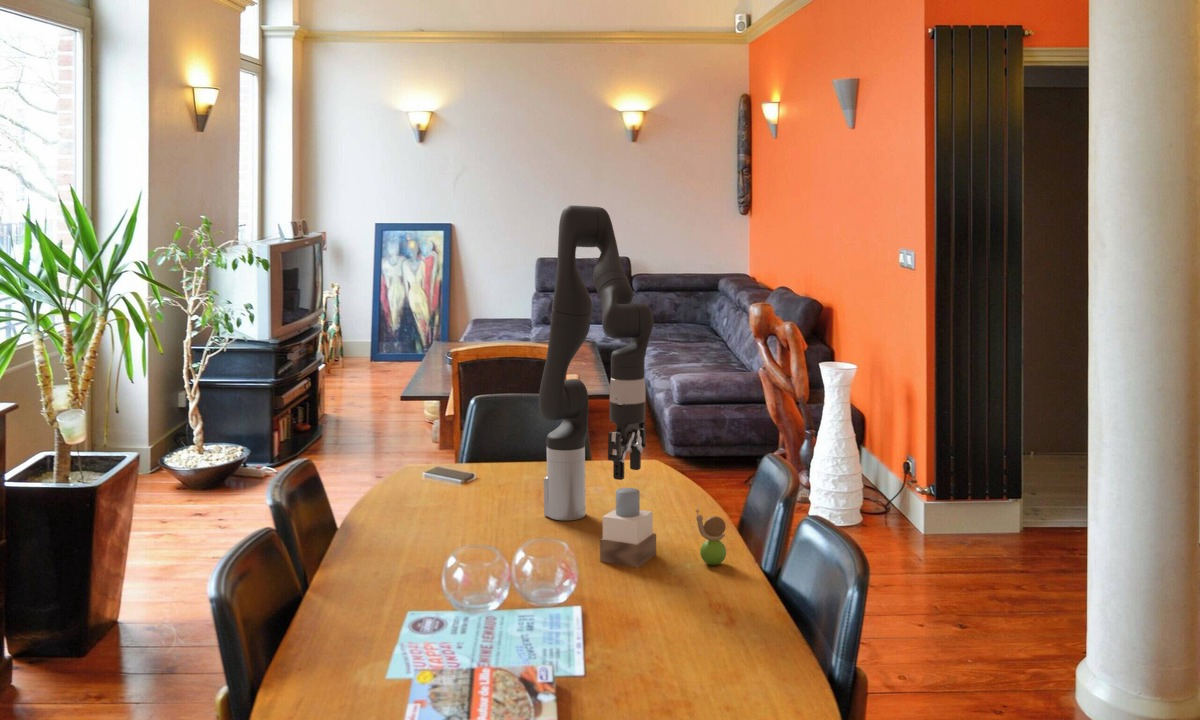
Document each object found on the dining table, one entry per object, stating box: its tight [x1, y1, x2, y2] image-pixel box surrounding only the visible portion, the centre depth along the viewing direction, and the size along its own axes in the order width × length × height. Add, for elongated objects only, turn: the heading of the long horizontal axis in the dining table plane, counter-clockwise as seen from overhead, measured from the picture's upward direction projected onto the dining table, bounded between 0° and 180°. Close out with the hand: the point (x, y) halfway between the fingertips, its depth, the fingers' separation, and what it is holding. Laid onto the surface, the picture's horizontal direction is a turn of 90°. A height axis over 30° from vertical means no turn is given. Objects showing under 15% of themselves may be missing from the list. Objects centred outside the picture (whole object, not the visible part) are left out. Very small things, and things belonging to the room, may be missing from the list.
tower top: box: [602, 508, 654, 545], centre depth 227 cm, size 8×8×5 cm
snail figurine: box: [695, 508, 727, 566], centre depth 223 cm, size 5×6×12 cm
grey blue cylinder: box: [615, 487, 641, 517], centre depth 226 cm, size 5×5×5 cm
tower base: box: [599, 532, 657, 569], centre depth 228 cm, size 9×9×5 cm
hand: (627, 474), depth 225 cm, fingers open, 8 cm apart
